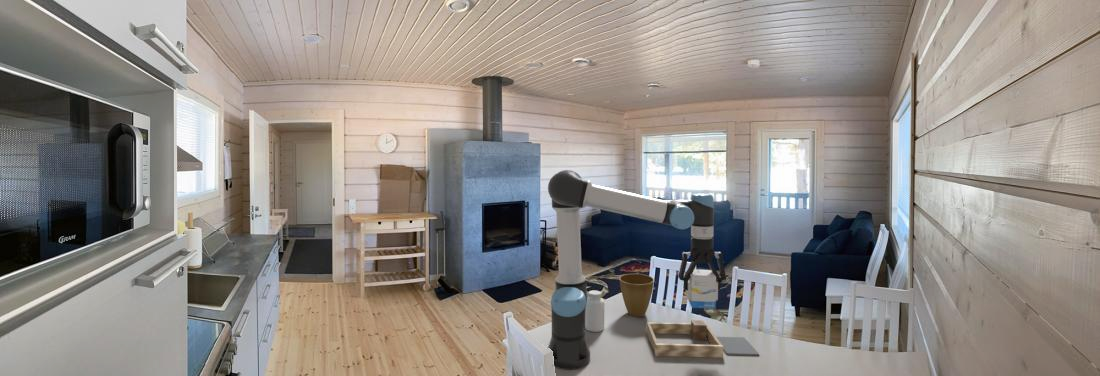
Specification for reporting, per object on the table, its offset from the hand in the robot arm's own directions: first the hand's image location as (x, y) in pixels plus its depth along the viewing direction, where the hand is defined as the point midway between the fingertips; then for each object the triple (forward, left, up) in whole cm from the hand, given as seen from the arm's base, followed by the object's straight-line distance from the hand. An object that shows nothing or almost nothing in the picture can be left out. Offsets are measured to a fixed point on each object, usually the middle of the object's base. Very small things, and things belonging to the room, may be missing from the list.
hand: (701, 298), depth 147 cm
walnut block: (+2, +8, -18) cm, 20 cm away
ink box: (0, 0, -2) cm, 2 cm away
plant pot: (-19, +31, -19) cm, 40 cm away
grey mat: (+13, +2, -18) cm, 23 cm away
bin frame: (-6, +3, -18) cm, 19 cm away
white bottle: (-38, +15, -19) cm, 45 cm away
